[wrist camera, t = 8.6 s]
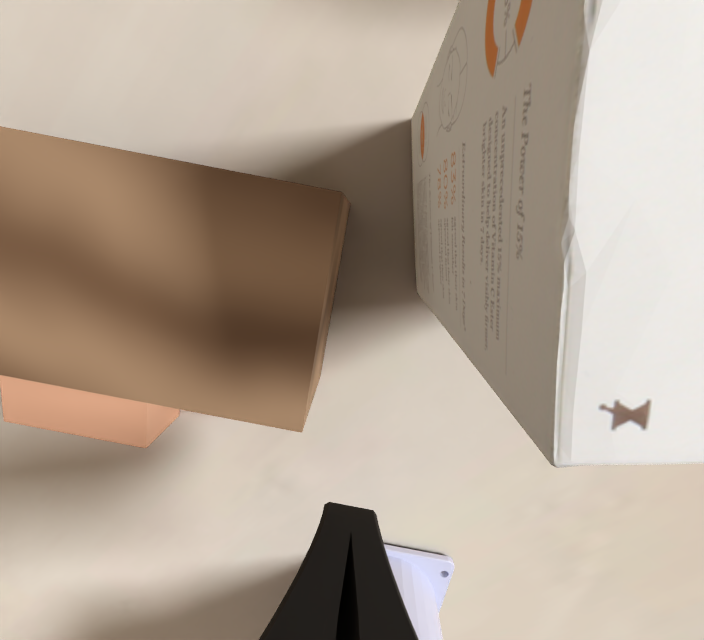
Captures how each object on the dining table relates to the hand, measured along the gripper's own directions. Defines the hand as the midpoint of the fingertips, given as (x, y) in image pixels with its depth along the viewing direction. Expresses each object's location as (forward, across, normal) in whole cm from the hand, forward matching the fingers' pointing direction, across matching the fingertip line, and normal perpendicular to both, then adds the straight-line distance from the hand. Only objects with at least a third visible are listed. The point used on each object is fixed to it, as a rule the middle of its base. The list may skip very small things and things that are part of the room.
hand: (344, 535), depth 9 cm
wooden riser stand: (+9, +13, -4) cm, 17 cm away
